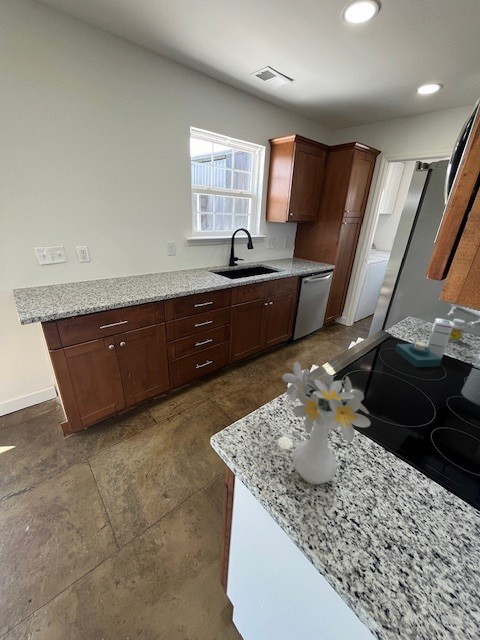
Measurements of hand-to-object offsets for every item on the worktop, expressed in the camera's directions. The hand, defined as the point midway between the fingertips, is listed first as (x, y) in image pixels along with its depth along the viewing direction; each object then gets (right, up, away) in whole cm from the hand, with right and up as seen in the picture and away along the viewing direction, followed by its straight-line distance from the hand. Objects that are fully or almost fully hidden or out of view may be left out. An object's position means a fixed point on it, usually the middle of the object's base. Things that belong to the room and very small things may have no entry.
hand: (458, 321), depth 104 cm
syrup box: (-7, -13, +5) cm, 16 cm away
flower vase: (-71, -33, -45) cm, 90 cm away
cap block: (-16, -15, +1) cm, 22 cm away
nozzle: (-16, -10, -1) cm, 19 cm away
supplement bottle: (+11, -9, +17) cm, 22 cm away
